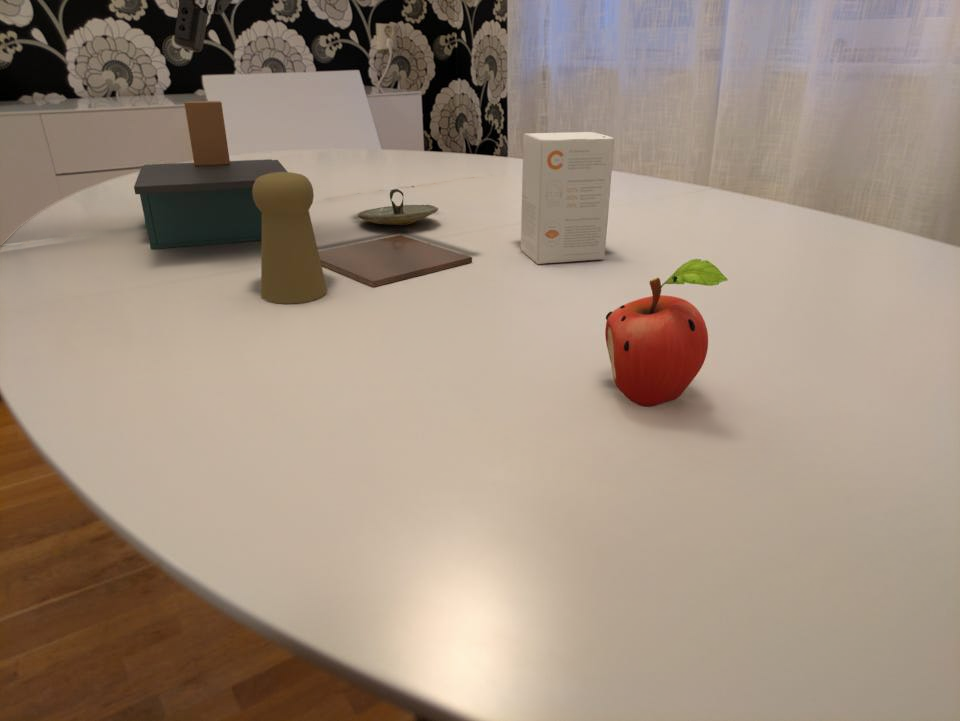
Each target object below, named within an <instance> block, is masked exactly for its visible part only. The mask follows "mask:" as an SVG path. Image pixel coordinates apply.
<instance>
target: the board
mask: <svg viewBox="0 0 960 721" xmlns="http://www.w3.org/2000/svg"><path fill="white" fill-rule="evenodd" d="M318 253H319V257H320V261H321V266H322V267H324V268H326V269H328V270H331V271H334V272H336V273H338V274H341V275H343V276H346V277H347V278H351V279H352V280H355V281H357V282H359V283H360V282H361V283H363V284H365V285H367V286H370V287H372V288H376V287H378V286H383V285H387V284H392V283H395V282H399V281H403V280H407V279H411V278H415V277H419V276H423V275H427V274H430V273H435V272H439V271H442V270H446V269H450V268H455V267H458V266H463V265H466V264H470V263H473V256H469V255H466V254H463V253H460V252H456V251H453V250H450V249H447V248H445V247H441V246H437V245H434V244H431V243H428V242H425V241H423V240H418V239H416V238H412V237H409V236H405V235H402V234H398V235H397V234H396V235H393V236H387V237H384V238H378V239H373V240H367V241H363V242H358V243H352V244H348V245H343V246H338V247H333V248H328V249H321V250H318Z"/></svg>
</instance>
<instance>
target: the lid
mask: <svg viewBox="0 0 960 721" xmlns="http://www.w3.org/2000/svg"><path fill="white" fill-rule="evenodd" d="M395 193H399V194H400V195H401V196H402V197H404V192H403V191H401V190H400V189H399V188H394V189H391V190H390V191H389V200H390V202H391V205H390V206H383V207H376V208H371V209H366V210H364V211H360V212H359V213H358V214H357V217H358V218H359V219H361V220H363V221H365V222H367V223H368V222H369V223H372V224H377V225H388V226H407V225H411V224H414V223H416V222H418V221H420V220H423V219H425V218H427V217H429V216H431V215H433V214H435V213H437V212H438V211H439V207H437V206H435V205H431V204H404V199H402V201H401V203H400V205H397V204H396V203H395V202H394V201H393V200H392V199H393V196H394V194H395Z"/></svg>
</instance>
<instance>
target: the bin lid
mask: <svg viewBox="0 0 960 721" xmlns="http://www.w3.org/2000/svg"><path fill="white" fill-rule="evenodd" d="M184 110H185V116H186V123H187V128H188V135H189V141H190V146H191V153H192V159H193V162H191V163H192V164H173V163H168V164H169V165H152V164H145V165H146V166H144V165H141V166H140V169H139V173H138V175H137V178H136V180H135V183H134V186H133V189H134V190H133V191H134V194H135V195H140V194H152V193H170V192H188V191H205V190H223V189H241V188H253V185H254V182H255V180H256V179H257V178H259V177H260V176H262V175H266V174H269V173H275V172H288V169H286V168H285V167H284V166H283V164H282V163H281V162H280V161H279V159H272V160H267V159H260V160H261V161H243V160H237V161H238V162H230V161H231V160H230V153H229V144H228V137H227V130H226V124H225V118H224V111H223V110H224V109H223V104H222V101H221V100H206V101H205V100H204V101H203V100H202V101H201V100H195V101H193V100H192V101H184Z"/></svg>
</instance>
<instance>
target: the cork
mask: <svg viewBox="0 0 960 721" xmlns="http://www.w3.org/2000/svg"><path fill="white" fill-rule="evenodd" d="M252 194H253V199H254V202H255V204H256V206H257V207H258V209H259V210H260V211H261V212H262V240H261V256H260V258H261V260H260V261H261V263H260V264H261V268H260V269H261V270H260V271H261V272H260V273H261V274H260V291H261V292H260V296H261V298H262V299H263V300H264V301H267V302H269V303H274V304H281V305H282V304H283V305H284V304H286V305H288V304H290V305H291V304H303V303H308V302H311V301H316V300H318V299H321V298H323V297H324V296H325V295H326V294H327V292H328V288H327V283H326V279H325V274H324V271H323V266H321V261H320V257H319V253H318V251H319V249H318V245H317V240H316V236H315V232H314V227H313V223H312V219H311V215H310V214H311V213H310V208H311V207H312V206H313V202H314V188H313V185H312V182H311V181H310V179H309V178H308V177H307V176H305V175H304V174H301V173H296V172H291V171H287V172H275V173H269V174H266V175H262V176H260V177H259V178H257V179H256V180H255V182H254V185H253V190H252Z"/></svg>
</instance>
